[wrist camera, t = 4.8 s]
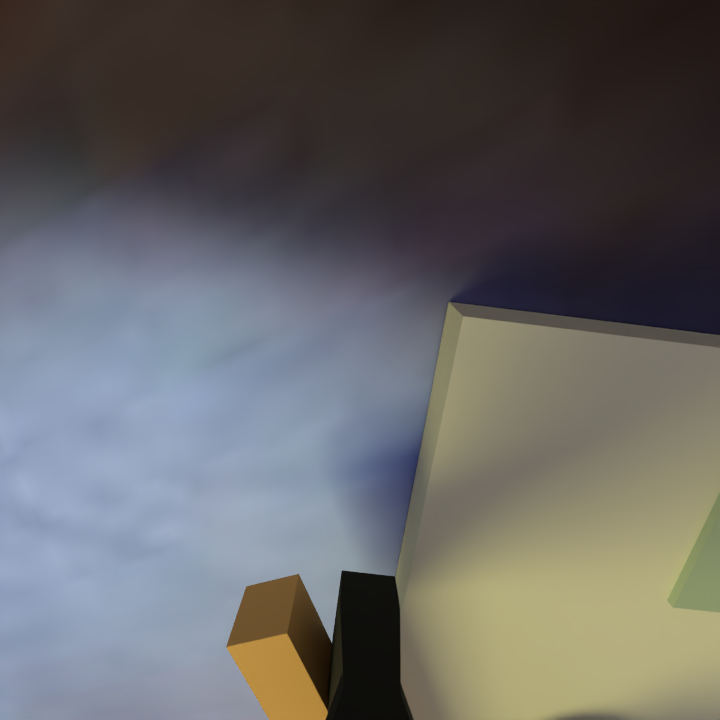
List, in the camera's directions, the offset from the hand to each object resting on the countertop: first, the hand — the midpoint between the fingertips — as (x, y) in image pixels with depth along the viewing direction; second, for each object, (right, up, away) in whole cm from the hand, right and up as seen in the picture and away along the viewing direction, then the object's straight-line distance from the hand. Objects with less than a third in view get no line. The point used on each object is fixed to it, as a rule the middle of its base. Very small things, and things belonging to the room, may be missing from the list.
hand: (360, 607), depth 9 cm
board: (+8, -4, +4) cm, 10 cm away
